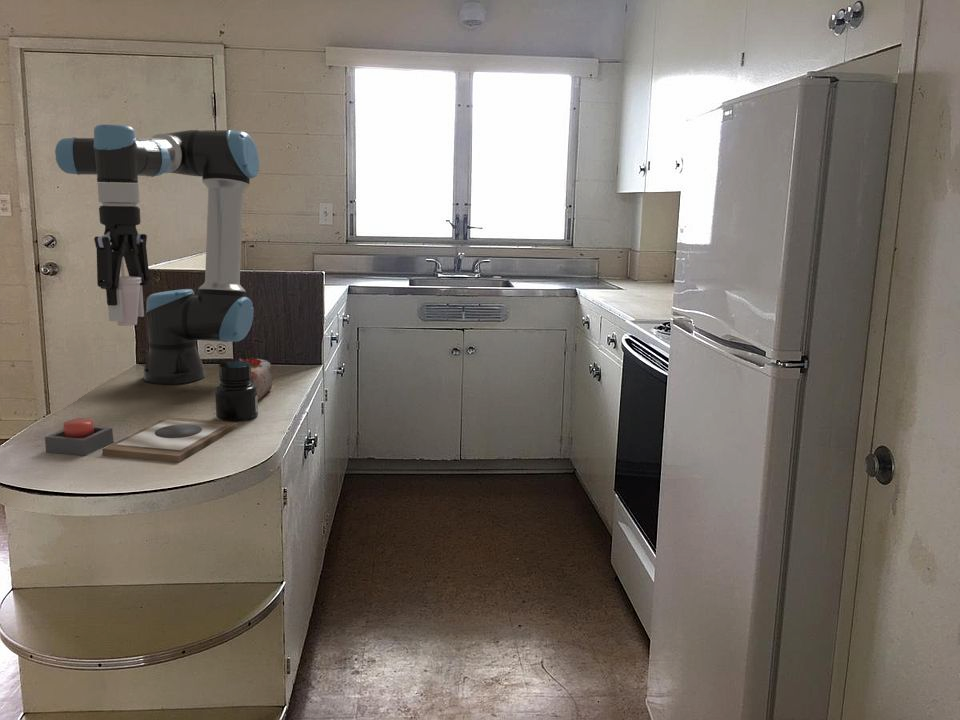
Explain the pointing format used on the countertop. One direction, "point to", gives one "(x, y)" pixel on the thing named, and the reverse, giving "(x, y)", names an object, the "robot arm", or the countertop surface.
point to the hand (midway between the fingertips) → (127, 318)
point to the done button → (78, 428)
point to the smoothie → (129, 297)
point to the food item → (260, 375)
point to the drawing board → (170, 439)
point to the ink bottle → (236, 392)
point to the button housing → (79, 442)
